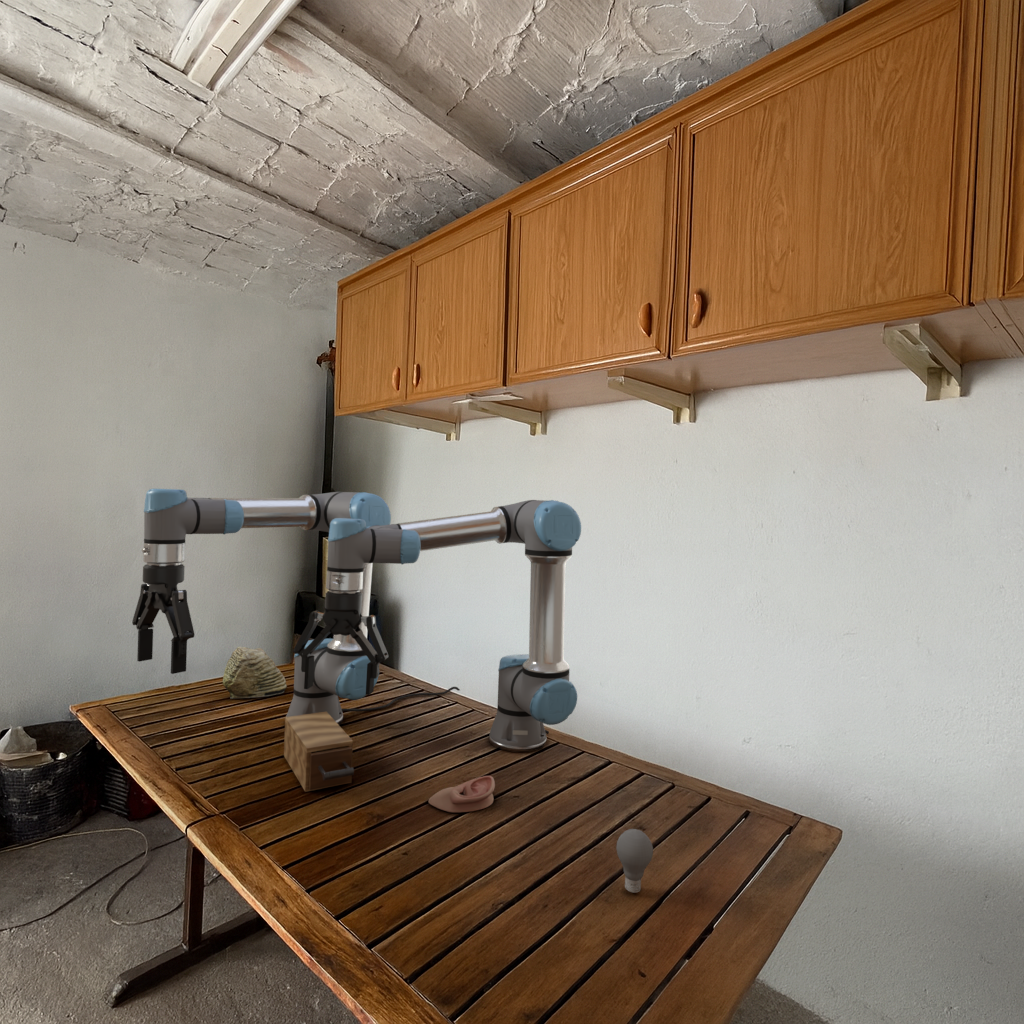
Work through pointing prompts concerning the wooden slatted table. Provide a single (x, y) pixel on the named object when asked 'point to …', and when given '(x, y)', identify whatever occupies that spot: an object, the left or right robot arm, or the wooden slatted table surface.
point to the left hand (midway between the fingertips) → (161, 666)
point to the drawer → (330, 767)
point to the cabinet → (311, 741)
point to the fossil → (252, 674)
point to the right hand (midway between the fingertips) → (338, 690)
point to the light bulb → (634, 857)
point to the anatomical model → (465, 796)
